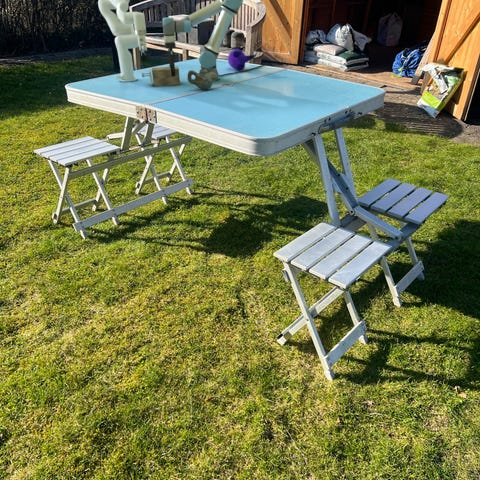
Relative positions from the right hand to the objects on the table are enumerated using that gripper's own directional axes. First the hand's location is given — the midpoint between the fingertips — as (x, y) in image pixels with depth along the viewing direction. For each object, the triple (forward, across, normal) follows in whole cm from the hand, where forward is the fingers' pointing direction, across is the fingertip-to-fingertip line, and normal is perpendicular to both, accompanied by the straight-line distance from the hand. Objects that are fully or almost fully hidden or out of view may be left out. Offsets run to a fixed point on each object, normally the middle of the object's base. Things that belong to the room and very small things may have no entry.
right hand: (172, 75), depth 325 cm
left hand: (-11, 0, +19) cm, 22 cm away
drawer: (+5, 0, +11) cm, 12 cm away
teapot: (+6, -26, -18) cm, 32 cm away
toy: (+6, +40, -59) cm, 72 cm away
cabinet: (+6, 0, +5) cm, 8 cm away
